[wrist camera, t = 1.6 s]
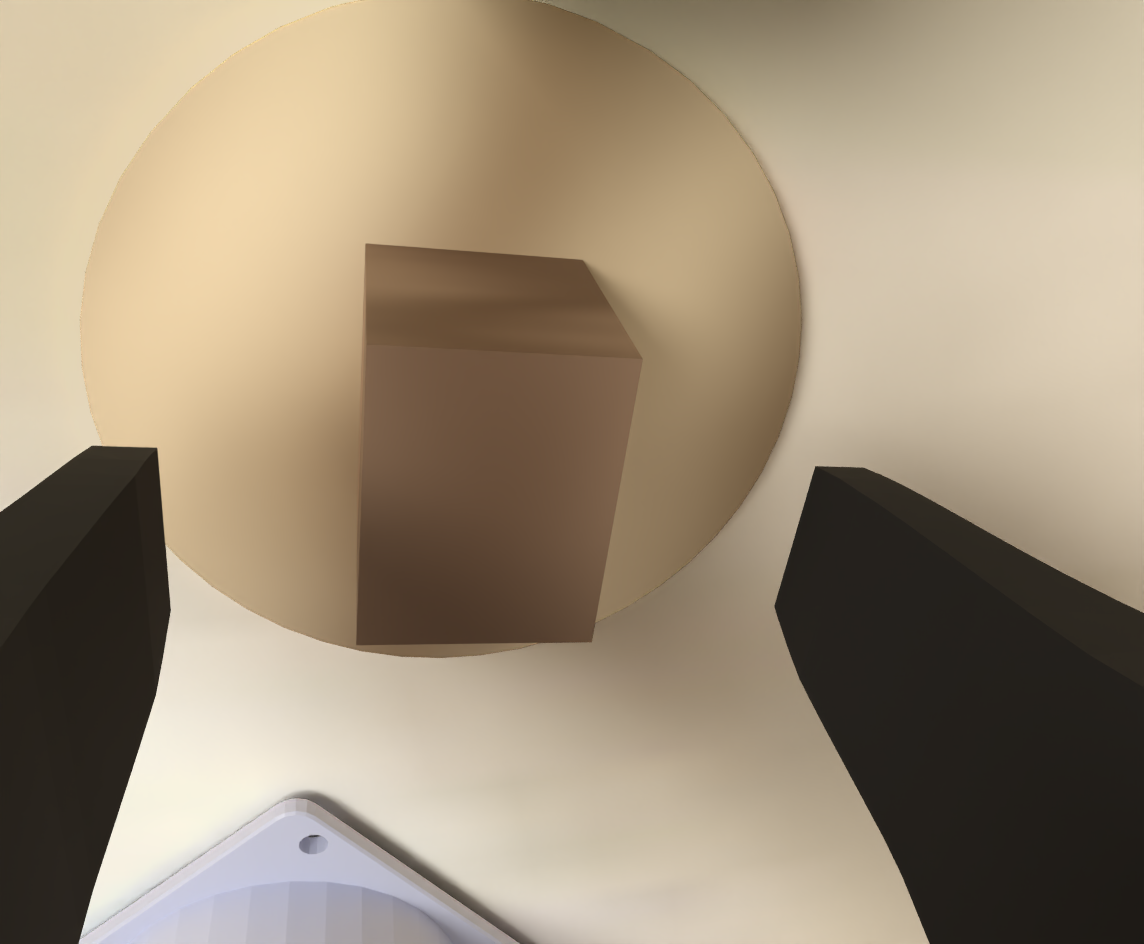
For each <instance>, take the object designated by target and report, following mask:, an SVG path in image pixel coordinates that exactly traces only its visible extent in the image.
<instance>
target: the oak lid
mask: <svg viewBox="0 0 1144 944" xmlns="http://www.w3.org/2000/svg"><path fill="white" fill-rule="evenodd" d="M801 321H802V316H801V302H800V287H799V276H798V271H797V266H796V261H795V257H794V252H793V247H792V243H791V238H790V234H789V231H788V228H787V226H786V223H785V220H784V217H783V215H782V212H781V209H780V206H779V204H778V201H777V198H776V196H775V193H774V191H773V189H772V187H771V186H770V184H769V182H768V180H767V178H766V176H765V174H764V173H763V171H762V169H761V167H760V165H759V163H758V161H757V160H756V158H755V156H754V154H753V152H752V151H751V150H750V148H749V147H748V146H747V144H746V143H745V142H744V140H743V139H742V138H741V136H740V135H739V134H738V132H737V131H736V130H735V128H734V127H733V125H732V124H731V123H730V121H729V120H728V119H727V117H726V116H725V115H724V114H723V113H722V112H721V111H720V110H719V109H718V108H717V107H716V106H715V105H714V104H713V103H712V102H711V101H710V100H709V99H708V98H707V97H706V96H705V95H704V94H703V93H702V92H701V91H700V90H699V89H698V88H697V87H696V86H695V85H694V84H693V83H692V82H691V81H690V80H689V79H687V78H686V77H685V76H683V75H682V74H681V73H679V72H678V71H677V70H675V69H674V68H673V67H671V66H670V65H669V64H667V63H666V62H665V61H663V60H662V59H661V58H659V57H658V56H657V55H655V54H654V53H653V52H651V51H650V50H648V49H646V48H644V47H642V46H641V45H639V44H637V43H635V42H633V41H631V40H629V39H628V38H626V37H624V36H622V35H620V34H618V33H616V32H615V31H613V30H611V29H609V28H607V27H605V26H604V25H602V24H600V23H598V22H596V21H593V20H590V19H588V18H585V17H582V16H579V15H577V14H574V13H571V12H568V11H566V10H563V9H560V8H558V7H555V6H552V5H549V4H546V3H541V2H536V1H532V0H358V1H354V2H349V3H345V4H341V5H337V6H332V7H329V8H327V9H324V10H322V11H319V12H317V13H314V14H312V15H309V16H307V17H304V18H302V19H299V20H297V21H294V22H291V23H289V24H286V25H284V26H281V27H279V28H278V29H276V30H274V31H272V32H271V33H269V34H267V35H265V36H264V37H262V38H260V39H259V40H257V41H255V42H253V43H252V44H250V45H248V46H246V47H245V48H243V49H241V50H240V51H238V52H236V53H234V54H233V55H232V56H230V57H229V58H228V59H227V60H225V61H224V62H223V63H222V64H220V65H219V66H218V67H217V68H215V69H214V70H213V71H212V72H210V73H209V74H208V75H207V76H205V77H204V78H203V79H202V80H200V81H199V82H198V83H197V84H195V85H194V86H193V87H192V88H191V89H190V90H189V91H188V92H187V93H186V94H185V95H184V96H183V97H182V98H181V100H180V101H179V102H178V103H177V104H176V105H175V106H174V107H173V108H172V109H171V110H170V112H169V113H168V114H167V115H166V116H165V117H164V118H163V119H162V120H161V121H160V122H159V124H158V125H157V126H156V127H155V128H154V129H153V130H152V131H151V132H150V134H149V135H148V136H147V138H146V140H145V141H144V143H143V144H142V146H141V147H140V149H139V150H138V152H137V153H136V155H135V156H134V158H133V159H132V161H131V162H130V164H129V165H128V167H127V168H126V170H125V171H124V173H123V174H122V176H121V177H120V179H119V181H118V183H117V186H116V188H115V190H114V192H113V194H112V197H111V199H110V201H109V203H108V205H107V207H106V210H105V212H104V214H103V216H102V218H101V221H100V223H99V225H98V229H97V233H96V236H95V240H94V243H93V247H92V251H91V254H90V258H89V261H88V265H87V268H86V272H85V281H84V290H83V298H82V307H81V315H80V333H81V358H82V370H83V375H84V380H85V386H86V391H87V396H88V401H89V406H90V411H91V414H92V417H93V420H94V423H95V426H96V429H97V431H98V434H99V437H100V440H101V443H102V446H117V447H152V448H157V449H158V461H159V474H160V486H161V498H162V510H163V523H164V535H165V544H166V545H167V546H168V547H169V548H170V549H171V550H172V552H173V553H174V554H175V555H176V556H177V557H178V558H179V559H180V560H181V561H182V562H183V563H185V564H186V565H187V566H188V567H189V568H191V569H192V570H193V571H194V572H195V573H197V574H198V575H199V576H200V577H201V578H203V579H204V580H205V581H206V582H207V583H209V584H210V585H211V586H212V587H214V588H215V589H217V590H218V591H220V592H221V593H223V594H224V595H226V596H228V597H229V598H231V599H232V600H234V601H235V602H237V603H238V604H240V605H241V606H243V607H245V608H246V609H248V610H250V611H252V612H254V613H256V614H258V615H260V616H262V617H264V618H266V619H268V620H270V621H272V622H274V623H276V624H278V625H280V626H282V627H284V628H287V629H289V630H292V631H295V632H298V633H300V634H303V635H306V636H309V637H312V638H314V639H317V640H320V641H323V642H327V643H331V644H335V645H339V646H343V647H347V648H351V649H355V650H359V651H365V652H372V653H379V654H386V655H394V656H401V657H430V658H446V657H461V656H476V655H484V654H490V653H496V652H502V651H508V650H514V649H519V648H523V647H527V646H530V645H534V644H538V643H562V642H592V638H593V632H594V627H595V623H596V622H598V621H600V620H602V619H604V618H606V617H608V616H610V615H612V614H614V613H616V612H618V611H620V610H622V609H624V608H626V607H628V606H629V605H631V604H632V603H634V602H636V601H637V600H639V599H640V598H642V597H643V596H645V595H646V594H648V593H650V592H651V591H653V590H654V589H656V588H657V587H659V586H660V585H662V584H663V583H664V582H665V581H667V580H668V579H669V578H670V577H672V576H673V575H674V574H675V573H676V572H678V571H679V570H680V569H681V568H683V567H684V566H685V565H686V564H688V563H689V562H690V561H691V560H692V559H693V558H694V557H695V556H696V555H697V554H698V553H699V552H700V551H701V550H702V549H703V548H704V547H705V546H706V545H707V544H708V543H709V542H710V541H711V540H712V539H713V538H714V537H715V536H716V535H717V534H718V533H719V532H720V530H721V529H722V528H723V527H724V525H725V524H726V523H727V522H728V520H729V519H730V518H731V517H732V515H733V514H734V513H735V512H736V510H737V509H738V508H739V507H740V505H741V504H742V502H743V501H744V499H745V498H746V496H747V495H748V493H749V491H750V490H751V488H752V487H753V485H754V483H755V482H756V480H757V479H758V477H759V475H760V474H761V472H762V470H763V468H764V466H765V464H766V462H767V460H768V458H769V456H770V454H771V451H772V449H773V447H774V445H775V443H776V441H777V439H778V437H779V434H780V431H781V428H782V425H783V422H784V419H785V416H786V413H787V410H788V407H789V404H790V401H791V398H792V392H793V387H794V382H795V377H796V372H797V367H798V362H799V353H800V337H801Z"/></svg>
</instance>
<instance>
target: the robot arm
mask: <svg viewBox="0 0 1144 944" xmlns="http://www.w3.org/2000/svg"><path fill="white" fill-rule="evenodd" d="M774 607H775V610H776V613H777V616H778V619H779V622H780V625H781V628H782V632H783V635H784V638H785V641H786V644H787V647H788V649H789V652H790V655H791V657H792V660H793V663H794V665H795V668H796V671H797V673H798V676H799V679H800V681H801V683H802V685H803V687H804V689H805V691H806V693H807V695H808V697H809V699H810V700H811V702H812V704H813V706H814V708H815V710H816V712H817V714H818V716H819V718H820V720H821V722H822V723H823V725H824V727H825V729H826V731H827V733H828V735H829V737H830V739H831V741H832V742H833V744H834V746H835V748H836V750H837V752H838V754H839V755H840V757H841V759H842V761H843V763H844V765H845V767H846V768H847V770H848V772H849V774H850V776H851V778H852V780H853V781H854V783H855V785H856V787H857V789H858V791H859V793H860V795H861V796H862V798H863V800H864V802H865V804H866V806H867V808H868V809H869V811H870V813H871V815H872V817H873V819H874V821H875V823H876V824H877V826H878V828H879V830H880V832H881V834H882V836H883V837H884V839H885V841H886V843H887V846H888V848H889V850H890V852H891V854H892V856H893V858H894V860H895V862H896V864H897V866H898V868H899V870H900V873H901V875H902V877H903V879H904V882H905V884H906V886H907V889H908V891H909V894H910V896H911V899H912V901H913V904H914V906H915V909H916V911H917V914H918V916H919V918H920V921H921V923H922V926H923V928H924V931H925V933H926V936H927V938H928V941H929V943H930V944H1144V613H1142V612H1140V611H1138V610H1136V609H1134V608H1132V607H1130V606H1127V605H1125V604H1123V603H1121V602H1119V601H1117V600H1115V599H1113V598H1111V597H1109V596H1107V595H1105V594H1103V593H1101V592H1099V591H1097V590H1095V589H1093V588H1091V587H1089V586H1087V585H1085V584H1083V583H1081V582H1079V581H1077V580H1076V579H1074V578H1072V577H1070V576H1068V575H1066V574H1064V573H1062V572H1060V571H1058V570H1056V569H1054V568H1052V567H1051V566H1049V565H1047V564H1045V563H1043V562H1041V561H1039V560H1037V559H1036V558H1034V557H1032V556H1030V555H1028V554H1026V553H1025V552H1023V551H1021V550H1019V549H1017V548H1015V547H1014V546H1012V545H1010V544H1008V543H1006V542H1005V541H1003V540H1001V539H999V538H997V537H996V536H994V535H992V534H990V533H988V532H987V531H985V530H983V529H981V528H980V527H978V526H976V525H974V524H972V523H971V522H969V521H967V520H965V519H964V518H962V517H960V516H958V515H956V514H955V513H953V512H951V511H949V510H947V509H946V508H944V507H942V506H940V505H938V504H937V503H935V502H933V501H931V500H929V499H928V498H926V497H924V496H922V495H920V494H918V493H916V492H914V491H912V490H911V489H909V488H907V487H905V486H903V485H901V484H899V483H897V482H895V481H893V480H891V479H889V478H887V477H884V476H882V475H880V474H878V473H875V472H873V471H870V470H868V469H865V468H855V467H820V466H815V469H814V473H813V476H812V480H811V483H810V487H809V490H808V493H807V497H806V500H805V504H804V507H803V510H802V514H801V517H800V521H799V524H798V528H797V531H796V534H795V538H794V541H793V545H792V548H791V551H790V555H789V558H788V562H787V565H786V569H785V572H784V575H783V579H782V582H781V586H780V589H779V592H778V596H777V599H776V603H775V606H774ZM170 611H171V608H170V596H169V584H168V572H167V559H166V547H165V535H164V523H163V510H162V498H161V486H160V474H159V461H158V449H157V448H152V447H117V446H91V447H90V448H88V449H86V450H85V451H83V452H82V453H80V454H79V455H77V456H76V457H75V458H73V459H72V460H70V461H69V462H68V463H66V464H65V465H64V466H62V467H61V468H60V469H58V470H57V471H56V472H54V473H53V474H51V475H50V476H49V477H47V478H46V479H45V480H43V481H42V482H41V483H39V484H38V485H37V486H35V487H34V488H33V489H31V490H30V491H29V492H27V493H26V494H25V495H23V496H22V497H21V498H19V499H18V500H17V501H15V502H14V503H12V504H11V505H10V506H8V507H7V508H5V509H4V510H3V511H1V512H0V944H520V943H518V942H517V941H515V940H514V939H512V938H511V937H510V936H508V935H507V934H505V933H504V932H502V931H501V930H499V929H498V928H496V927H495V926H494V925H492V924H491V923H489V922H488V921H486V920H485V919H483V918H482V917H480V916H479V915H478V914H476V913H475V912H473V911H472V910H470V909H469V908H467V907H466V906H464V905H463V904H462V903H460V902H459V901H457V900H456V899H454V898H453V897H451V896H450V895H448V894H447V893H446V892H444V891H443V890H441V889H440V888H438V887H437V886H435V885H434V884H432V883H431V882H430V881H428V880H427V879H425V878H424V877H422V876H421V875H419V874H418V873H416V872H415V871H414V870H412V869H411V868H409V867H408V866H406V865H405V864H403V863H402V862H400V861H399V860H398V859H396V858H395V857H393V856H392V855H390V854H389V853H387V852H386V851H384V850H383V849H382V848H380V847H379V846H377V845H376V844H374V843H373V842H371V841H370V840H368V839H367V838H366V837H364V836H363V835H361V834H360V833H358V832H357V831H355V830H354V829H352V828H351V827H350V826H348V825H347V824H345V823H344V822H342V821H341V820H339V819H338V818H336V817H335V816H334V815H332V814H331V813H329V812H328V811H326V810H325V809H323V808H322V807H320V806H319V805H318V804H316V803H314V802H312V801H309V800H307V799H300V798H294V799H288V800H285V801H283V802H280V803H278V804H276V805H275V806H273V807H272V808H270V809H269V810H268V811H266V812H265V813H263V814H262V815H260V816H259V817H257V818H256V819H254V820H253V821H252V822H250V823H249V824H247V825H246V826H244V827H243V828H241V829H240V830H238V831H237V832H236V833H234V834H233V835H231V836H230V837H228V838H227V839H225V840H224V841H222V842H221V843H220V844H218V845H217V846H215V847H214V848H212V849H211V850H209V851H208V852H207V853H205V854H204V855H202V856H201V857H199V858H198V859H196V860H195V861H193V862H192V863H191V864H189V865H188V866H186V867H185V868H183V869H182V870H180V871H179V872H177V873H176V874H175V875H173V876H172V877H170V878H169V879H167V880H166V881H164V882H163V883H161V884H160V885H159V886H157V887H156V888H154V889H153V890H151V891H150V892H148V893H147V894H145V895H144V896H143V897H141V898H140V899H138V900H137V901H135V902H134V903H132V904H131V905H129V906H128V907H127V908H125V909H124V910H122V911H121V912H119V913H118V914H116V915H115V916H113V917H112V918H111V919H109V920H108V921H106V922H105V923H103V924H102V925H100V926H99V927H97V928H96V929H95V930H93V931H92V932H90V933H89V934H87V935H86V936H84V937H83V938H81V939H80V936H81V932H82V928H83V925H84V921H85V917H86V914H87V910H88V907H89V903H90V899H91V896H92V892H93V889H94V886H95V882H96V879H97V876H98V873H99V870H100V867H101V864H102V861H103V858H104V855H105V852H106V849H107V846H108V842H109V839H110V836H111V833H112V830H113V827H114V824H115V821H116V818H117V815H118V812H119V809H120V805H121V802H122V799H123V796H124V793H125V790H126V787H127V784H128V781H129V778H130V775H131V772H132V769H133V765H134V762H135V759H136V756H137V753H138V750H139V747H140V744H141V740H142V737H143V734H144V731H145V728H146V725H147V722H148V718H149V715H150V712H151V709H152V705H153V702H154V699H155V696H156V691H157V686H158V681H159V675H160V670H161V664H162V659H163V653H164V647H165V641H166V635H167V629H168V623H169V617H170ZM310 835H319V836H318V837H308V836H310Z"/></svg>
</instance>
